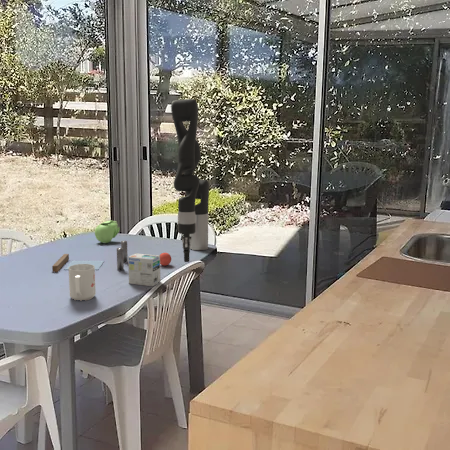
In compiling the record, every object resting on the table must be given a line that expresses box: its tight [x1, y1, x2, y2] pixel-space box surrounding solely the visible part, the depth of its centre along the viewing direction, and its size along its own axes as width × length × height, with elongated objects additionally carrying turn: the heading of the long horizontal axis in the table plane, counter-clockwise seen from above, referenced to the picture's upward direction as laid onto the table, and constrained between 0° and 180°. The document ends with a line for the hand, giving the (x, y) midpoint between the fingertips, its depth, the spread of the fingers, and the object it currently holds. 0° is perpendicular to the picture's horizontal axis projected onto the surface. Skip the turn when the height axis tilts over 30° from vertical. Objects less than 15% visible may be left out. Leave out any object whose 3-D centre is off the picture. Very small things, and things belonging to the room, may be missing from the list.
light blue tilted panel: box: [63, 260, 105, 271], centre depth 243 cm, size 14×14×1 cm
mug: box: [68, 264, 97, 302], centre depth 199 cm, size 12×9×11 cm
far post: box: [120, 240, 129, 263], centre depth 249 cm, size 3×3×9 cm
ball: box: [159, 252, 172, 267], centre depth 244 cm, size 6×6×6 cm
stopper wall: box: [51, 253, 70, 273], centre depth 243 cm, size 2×20×2 cm, turn 2°
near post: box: [116, 247, 125, 271], centre depth 237 cm, size 3×3×9 cm
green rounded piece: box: [94, 219, 120, 244], centre depth 284 cm, size 12×11×11 cm
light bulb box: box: [127, 252, 162, 287], centre depth 219 cm, size 11×7×11 cm, turn 71°
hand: (186, 261), depth 244 cm, fingers closed
